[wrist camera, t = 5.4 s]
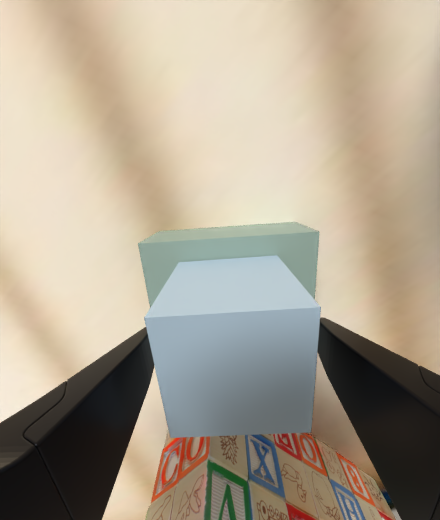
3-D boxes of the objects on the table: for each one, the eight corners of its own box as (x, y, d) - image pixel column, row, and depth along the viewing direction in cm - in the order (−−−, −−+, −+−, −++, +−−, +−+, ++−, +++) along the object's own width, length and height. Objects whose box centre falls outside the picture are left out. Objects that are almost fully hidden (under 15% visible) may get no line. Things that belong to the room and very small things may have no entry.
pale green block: (293, 221, 14) (319, 231, 10) (290, 313, 16) (311, 350, 12) (160, 230, 15) (137, 243, 11) (174, 318, 17) (159, 356, 13)
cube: (277, 255, 11) (321, 307, 6) (276, 338, 12) (311, 432, 7) (178, 262, 11) (144, 317, 6) (190, 342, 12) (170, 437, 8)
